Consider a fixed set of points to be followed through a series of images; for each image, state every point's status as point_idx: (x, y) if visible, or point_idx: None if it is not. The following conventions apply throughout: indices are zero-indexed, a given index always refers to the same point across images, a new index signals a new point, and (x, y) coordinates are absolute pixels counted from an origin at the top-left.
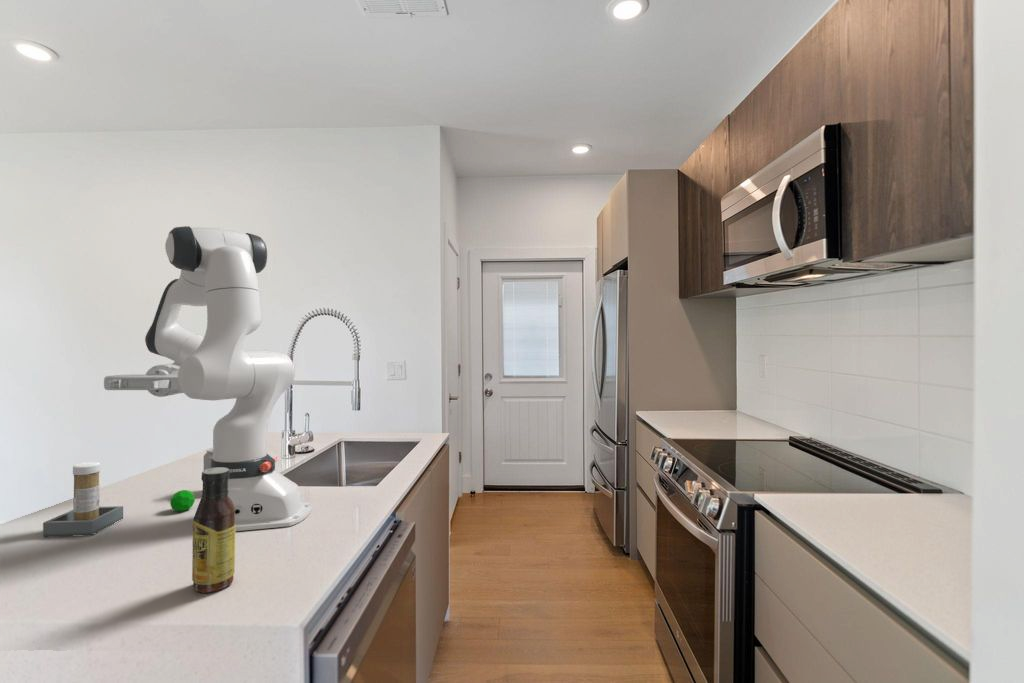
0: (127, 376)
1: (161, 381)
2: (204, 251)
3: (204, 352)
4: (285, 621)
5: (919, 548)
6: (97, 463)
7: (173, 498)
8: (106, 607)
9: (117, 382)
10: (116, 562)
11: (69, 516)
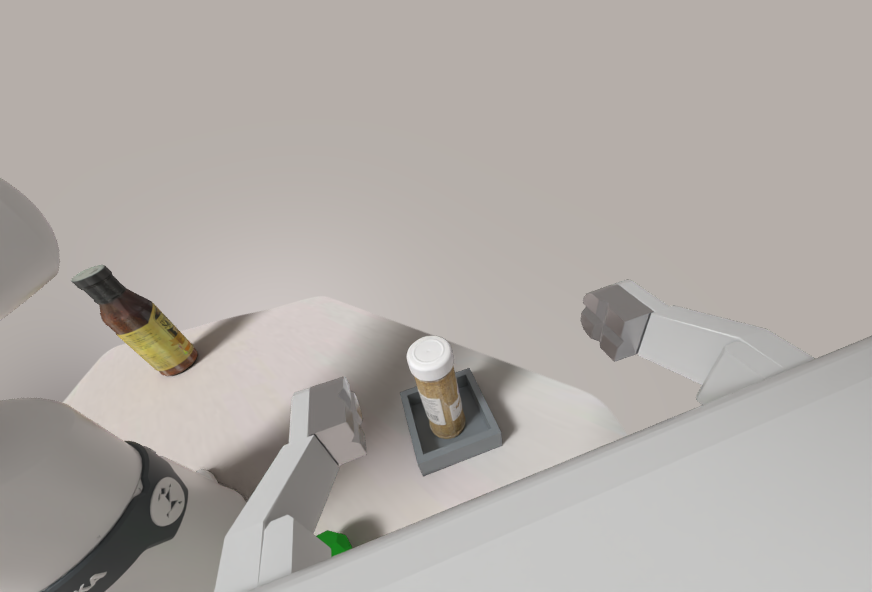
0: (765, 396)
1: (274, 474)
2: None
3: None
4: (117, 346)
5: None
6: (411, 360)
7: (333, 532)
8: (261, 320)
9: (609, 318)
10: (306, 365)
11: (481, 410)
